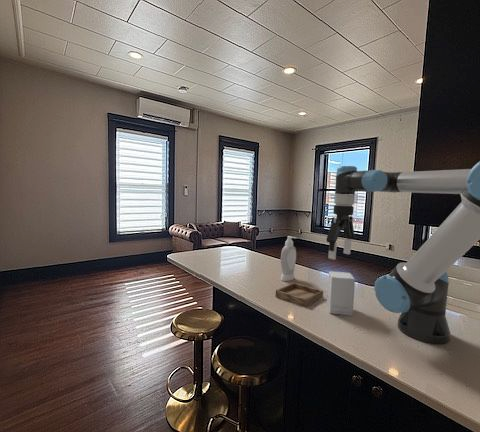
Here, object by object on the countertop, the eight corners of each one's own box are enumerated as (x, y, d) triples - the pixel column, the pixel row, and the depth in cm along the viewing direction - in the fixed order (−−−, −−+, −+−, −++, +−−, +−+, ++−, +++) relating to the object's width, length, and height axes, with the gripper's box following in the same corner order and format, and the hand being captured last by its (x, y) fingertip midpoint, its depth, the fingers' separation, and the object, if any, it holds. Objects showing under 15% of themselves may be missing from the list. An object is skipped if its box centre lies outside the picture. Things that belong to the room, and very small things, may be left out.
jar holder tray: (322, 297, 122) (323, 291, 122) (305, 307, 111) (305, 300, 110) (293, 288, 133) (294, 282, 132) (275, 296, 121) (275, 290, 121)
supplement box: (353, 316, 103) (355, 279, 102) (329, 313, 105) (331, 277, 104) (348, 306, 112) (350, 272, 111) (326, 304, 114) (328, 270, 113)
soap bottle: (287, 284, 139) (289, 238, 137) (276, 280, 145) (278, 236, 143) (302, 279, 148) (304, 236, 146) (291, 276, 153) (293, 234, 151)
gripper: (347, 203, 118) (344, 250, 120) (319, 204, 100) (315, 259, 103) (365, 205, 112) (360, 253, 115) (338, 206, 95) (334, 263, 97)
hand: (339, 256), depth 109 cm, fingers open, 13 cm apart
